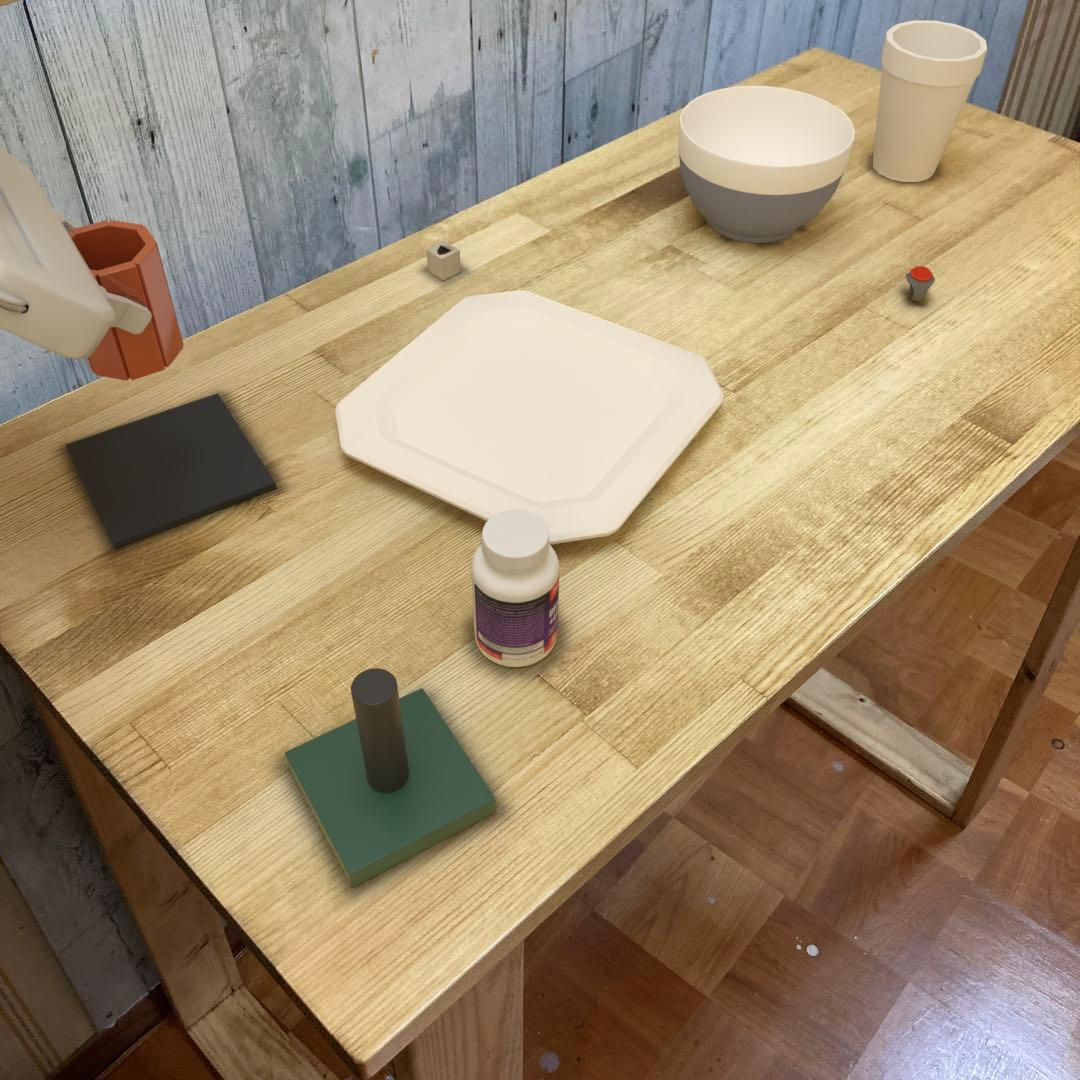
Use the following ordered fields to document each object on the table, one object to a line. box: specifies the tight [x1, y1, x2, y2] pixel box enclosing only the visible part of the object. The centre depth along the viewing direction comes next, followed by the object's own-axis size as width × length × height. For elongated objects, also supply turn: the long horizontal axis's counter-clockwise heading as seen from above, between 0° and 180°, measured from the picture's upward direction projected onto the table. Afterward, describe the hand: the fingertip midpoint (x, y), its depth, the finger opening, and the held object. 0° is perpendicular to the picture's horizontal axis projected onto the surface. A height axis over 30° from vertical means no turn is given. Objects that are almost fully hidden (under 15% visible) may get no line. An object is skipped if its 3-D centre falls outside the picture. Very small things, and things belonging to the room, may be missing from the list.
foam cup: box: [872, 20, 988, 183], centre depth 112 cm, size 10×9×13 cm
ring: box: [905, 265, 936, 302], centre depth 100 cm, size 2×3×3 cm
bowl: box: [677, 85, 856, 244], centre depth 106 cm, size 16×16×10 cm
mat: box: [65, 393, 277, 550], centre depth 84 cm, size 12×12×1 cm
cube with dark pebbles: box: [426, 240, 462, 281], centre depth 102 cm, size 2×2×2 cm
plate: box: [334, 289, 725, 546], centre depth 88 cm, size 25×25×2 cm
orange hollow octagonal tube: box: [67, 219, 185, 381], centre depth 74 cm, size 6×6×8 cm
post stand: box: [284, 667, 496, 888], centre depth 62 cm, size 9×9×10 cm
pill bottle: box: [470, 510, 561, 668], centre depth 70 cm, size 5×5×10 cm
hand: (125, 289), depth 73 cm, fingers closed on orange hollow octagonal tube, 6 cm apart
